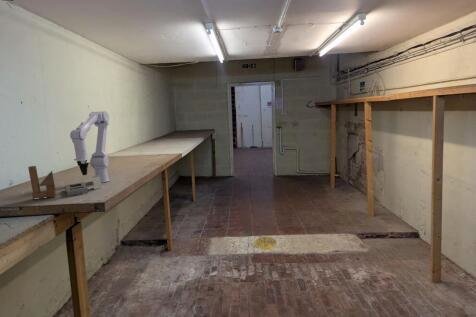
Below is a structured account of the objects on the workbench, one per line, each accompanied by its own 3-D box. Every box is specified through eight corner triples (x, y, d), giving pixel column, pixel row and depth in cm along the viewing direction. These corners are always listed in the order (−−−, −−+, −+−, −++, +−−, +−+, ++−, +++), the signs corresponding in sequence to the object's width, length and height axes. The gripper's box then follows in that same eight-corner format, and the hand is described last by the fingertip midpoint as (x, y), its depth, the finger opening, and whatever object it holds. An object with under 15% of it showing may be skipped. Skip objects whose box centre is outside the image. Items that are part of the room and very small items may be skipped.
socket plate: (66, 190, 196) (65, 185, 195) (84, 186, 200) (83, 182, 200) (68, 196, 182) (67, 191, 181) (88, 193, 187) (87, 188, 186)
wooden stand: (55, 197, 183) (49, 165, 179) (32, 200, 180) (26, 167, 176) (56, 195, 186) (51, 163, 183) (34, 198, 183) (28, 166, 180)
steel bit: (93, 188, 197) (91, 176, 196) (100, 186, 199) (99, 175, 198) (94, 189, 194) (92, 177, 192) (101, 188, 196) (100, 176, 194)
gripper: (71, 149, 195) (75, 172, 197) (73, 153, 182) (77, 177, 185) (85, 148, 198) (88, 170, 201) (87, 151, 186) (91, 175, 188)
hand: (84, 173), depth 193 cm, fingers open, 7 cm apart
